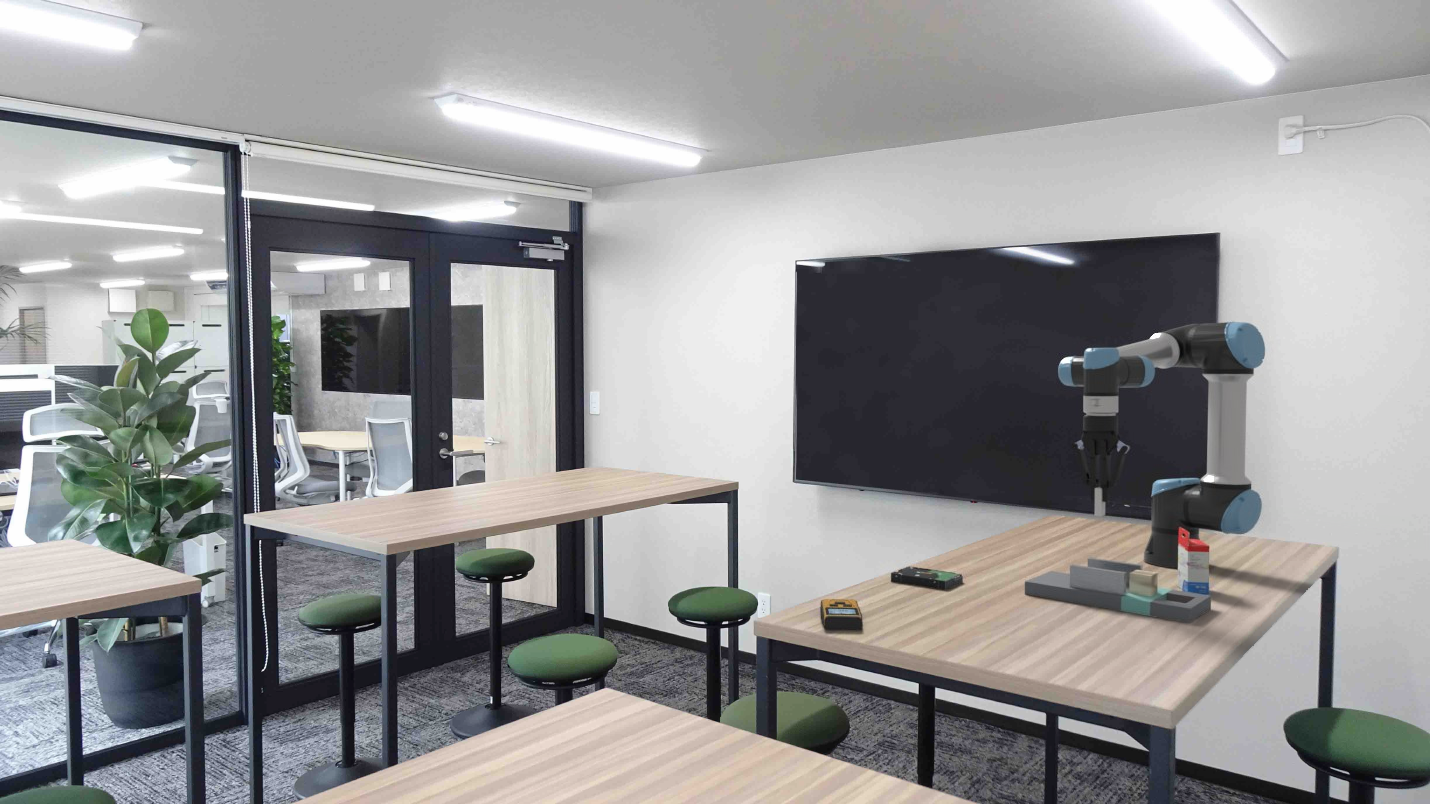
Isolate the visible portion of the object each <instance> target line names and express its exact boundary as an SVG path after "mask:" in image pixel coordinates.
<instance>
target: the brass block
mask: <svg viewBox="0 0 1430 804" xmlns="http://www.w3.org/2000/svg"><path fill="white" fill-rule="evenodd" d="M1158 574H1159V573H1158V572H1153V571H1150V570H1149V571H1148V570H1143V571H1142V570H1135V571H1133V572H1131V573H1130V580H1129V593H1132V594H1138V595H1144V596H1152V595H1154V594H1156V593H1157V587H1158V579H1159V578H1158V576H1159V575H1158Z"/></svg>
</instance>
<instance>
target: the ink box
mask: <svg viewBox="0 0 1430 804" xmlns="http://www.w3.org/2000/svg"><path fill="white" fill-rule="evenodd" d="M1183 534H1185V537H1184V536H1183ZM1189 538H1190V533H1189V532H1188V531H1186V530H1185V529H1183V528H1181V527H1179V539H1178V568H1177V587H1178V588H1180V589H1181V591H1185V592H1191V593H1198V594H1204V595H1210V545H1209V544H1207V543H1205V542H1204V541H1201V539H1200V540H1197V539H1189Z"/></svg>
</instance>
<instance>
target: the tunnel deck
mask: <svg viewBox="0 0 1430 804" xmlns="http://www.w3.org/2000/svg"><path fill="white" fill-rule="evenodd" d="M1143 566H1144V565H1143V564H1140V563H1133V562H1131V563H1130V562H1126V561H1125V562H1124V561H1118V560H1109V559H1103V558H1096V557H1088V558H1087V566H1085V565H1080V564H1079V565H1078V564H1070V565H1069V573H1066V572H1062V571H1060V572H1059V571H1055V570H1054V571H1053V570H1050V571H1048V572H1045V573H1042V574H1041V575H1037V576H1034V577H1032V578H1030V579H1027V580H1025V581H1024V595H1029V596H1035V597H1040V598H1046V599H1052V600H1056V601H1057V600H1058V601H1062V602H1068V603H1075V604H1081V605H1085V606H1091V607H1092V606H1093V607H1097V608H1104V609H1109V610H1115V611H1121V612H1124V613H1132V614H1136V615H1137V614H1138V615H1144V616H1150V617H1154V618H1161V619H1166V620H1171V621H1172V620H1173V621H1177V622H1183V623H1188V624H1192V622H1193V621H1195V620H1197V619H1198V618H1200V617H1201V616H1203V615H1204V614H1206V613H1207V612H1209V611H1211V609H1212V595H1210V594H1209V595H1204V594H1198V593H1191V592H1185V591H1183V590H1176V589H1170V588H1164V587H1158V586H1157V593H1156V594H1154V595H1152V596H1144V595H1138V594H1132V593H1129V580H1130V573H1131V572H1133V571H1135V570H1142V571H1144V570H1143V569H1144V568H1143Z"/></svg>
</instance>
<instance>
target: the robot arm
mask: <svg viewBox="0 0 1430 804" xmlns="http://www.w3.org/2000/svg"><path fill="white" fill-rule="evenodd" d="M1083 353H1084V354H1083V355H1082V356H1079V355H1078V356H1077V355H1073V356H1066V357H1064V358H1063V359H1062V360H1061V361H1060V362H1059V365H1058V367H1057V368H1058V370H1057V373H1058V379H1059V380H1060V383H1062V384H1063V385H1064V386H1068V387H1074V388H1077V387H1083V400H1082V401H1083V405H1082V406H1083V408H1082V409H1083V413H1085V414H1084V416H1083V417H1082V419H1083V421H1082V424H1083V425H1082V432H1083V433H1082V435H1081V436H1080V440H1078V441H1076V442H1073V443H1071V444H1070V446H1071V448H1072V450H1073V452H1074V453H1075V457H1076V461H1077V465H1078V469H1079V474H1080V478H1081V479H1080V480H1081V482H1082V484H1083V485H1086V486H1089V488H1090V500H1091V502H1094V517H1100V518H1101V517H1103V516H1105V515H1106V503H1107V502H1109V501H1110V499H1111V497H1110V489H1111V487H1114V486H1117V485H1118V484H1119V482H1120V477H1121V475H1122V471H1123V467H1124V464H1125V460H1126V455H1127V454H1128V452H1129V451H1130V450H1131V445H1130V444H1125V443H1124V442H1122V441H1121V438H1120V436H1119V416H1118V415H1116V414H1118V413H1119V388H1120V389H1121V388H1123V389H1124V388H1125V389H1126V388H1130V389H1131V388H1132V389H1133V388H1134V389H1139V388H1143V387H1147V386H1148V385H1150V384H1151V382H1153V380H1154V378H1155V374H1156V369H1155V368H1159V369H1164V370H1165V369H1169V368H1175V367H1176V368H1196V369H1197V368H1198V369H1199V368H1201V369H1202V372H1201V375H1202V376H1203V377H1204V378H1205V379H1206V380H1207V381H1208V394H1207V395H1208V397H1207V398H1208V399H1207V408H1208V409H1207V443H1206V444H1207V447H1206V448H1207V452H1206V453H1207V455H1206V458H1207V459H1206V474H1204V475H1203V476H1202V477H1200V478H1198V477H1188V478H1187V477H1180V478H1166V479H1165V478H1164V479H1157V480H1156V481H1154V482H1153V483H1152V489H1151V496H1150V497H1151V524H1150V525H1151V532H1150V535H1149V538H1148V540H1147V543H1146V546H1145V548H1144V551H1143V561H1144V562H1145V563H1147V564H1150V565H1154V566H1159V567H1165V568H1175V569H1178V539H1179V527H1181V528H1183V529H1185V530H1186V531H1188V532H1189V533H1190V538H1189V539H1197V540H1200V541H1201V538H1200V530H1206V531H1213V532H1218V533H1223V534H1226V535H1229V534H1232V535H1245V534H1247V533H1249V532H1250V531H1252V530H1253V529H1254V528H1255V526H1256V524H1257V523H1258V521H1259V520H1260V516H1261V513H1262V509H1263V503H1262V502H1263V501H1262V499H1261V495H1260V494H1259V492H1258V491H1255V490H1253V489H1252V481H1251V480H1250V479H1249V478H1248V477H1247V476H1246V434H1247V433H1246V432H1247V431H1246V430H1247V389H1248V388H1247V383H1248V381H1249V380H1250V379H1251V378H1252V377H1253V376H1254V375H1255V370H1254V369H1257V368H1259V367H1260V366H1261V365H1262V364H1263V360H1264V359H1265V355H1266V345H1265V341H1264V336H1263V335H1262V333H1261V332H1260V331H1259V329H1258V328H1257V327H1256V326H1255V325H1254V324H1252V323H1250V322H1243V321H1242V322H1241V321H1239V322H1238V321H1229V322H1210V323H1191V324H1186V325H1184V326H1183V325H1182V326H1179V327H1175V328H1171V329H1168V330H1166V331H1165V330H1164V331H1161V332H1158V333H1154V334H1153V335H1152V336H1150V338H1149V339H1146V340H1145V339H1144V340H1142V341H1137V342H1134V343H1130V344H1124V345H1122V346H1117V347H1088V348H1086V349H1085V350H1084V352H1083ZM1085 448H1086V449H1087V451H1088V455H1089V466H1088V462H1087V457H1086V453H1085V450H1084V449H1085ZM1115 449H1116V450H1117V453H1116V457H1115V461H1114V463H1113V468H1112V471H1111V458H1112V453H1113V451H1114V450H1115ZM1100 459H1101V466H1100ZM1100 467H1101V474H1100ZM1100 475H1101V480H1100ZM1100 481H1101V483H1100ZM1100 484H1101V485H1100ZM1183 536H1184V537H1185V534H1183Z"/></svg>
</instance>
